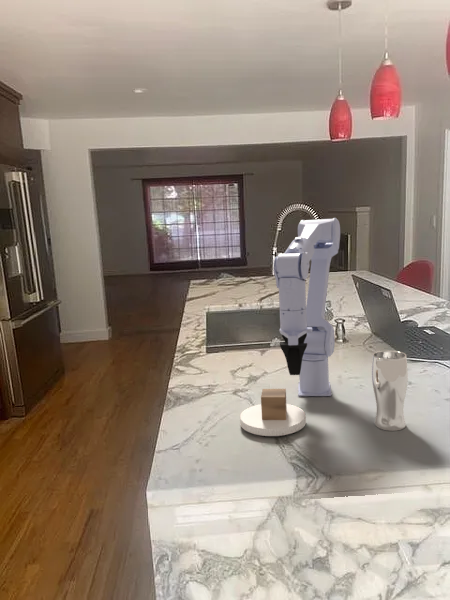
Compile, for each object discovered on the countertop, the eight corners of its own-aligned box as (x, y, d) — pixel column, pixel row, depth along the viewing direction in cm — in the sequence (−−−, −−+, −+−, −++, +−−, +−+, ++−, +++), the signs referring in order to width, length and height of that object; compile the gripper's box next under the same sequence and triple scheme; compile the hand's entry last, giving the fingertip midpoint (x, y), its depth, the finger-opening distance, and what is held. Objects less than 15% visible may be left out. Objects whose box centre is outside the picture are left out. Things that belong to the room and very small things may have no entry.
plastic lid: (227, 427, 108) (226, 416, 107) (272, 408, 116) (272, 398, 116) (273, 447, 97) (272, 435, 97) (319, 425, 106) (319, 413, 105)
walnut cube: (263, 410, 109) (262, 388, 108) (286, 410, 108) (285, 388, 107) (262, 419, 104) (260, 397, 103) (286, 420, 103) (285, 397, 103)
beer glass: (400, 416, 106) (399, 348, 104) (413, 430, 99) (413, 358, 97) (368, 419, 106) (366, 351, 104) (379, 433, 99) (377, 360, 97)
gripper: (312, 314, 100) (314, 379, 102) (311, 302, 114) (313, 359, 116) (276, 315, 101) (279, 379, 103) (280, 303, 115) (282, 360, 117)
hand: (295, 369), depth 110 cm, fingers open, 7 cm apart
